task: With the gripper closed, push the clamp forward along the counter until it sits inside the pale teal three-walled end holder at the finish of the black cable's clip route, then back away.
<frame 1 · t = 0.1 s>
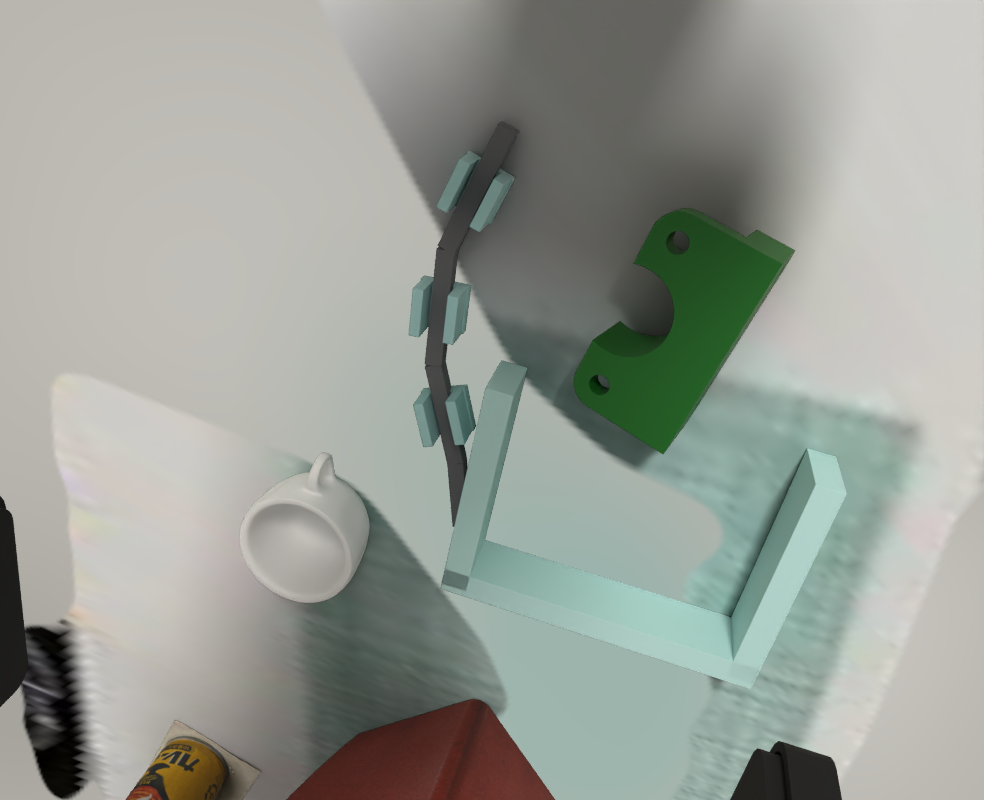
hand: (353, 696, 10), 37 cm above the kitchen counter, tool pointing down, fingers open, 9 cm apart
teacup: (333, 492, 55), on the kitchen counter
condiment: (206, 764, 71), on the kitchen counter
clip 1: (480, 187, 44), on the kitchen counter
clip 2: (445, 303, 47), on the kitchen counter
clamp: (680, 304, 45), on the kitchen counter
plant pot: (457, 769, 64), on the kitchen counter
end holder: (630, 505, 50), on the kitchen counter
clip 3: (449, 407, 50), on the kitchen counter
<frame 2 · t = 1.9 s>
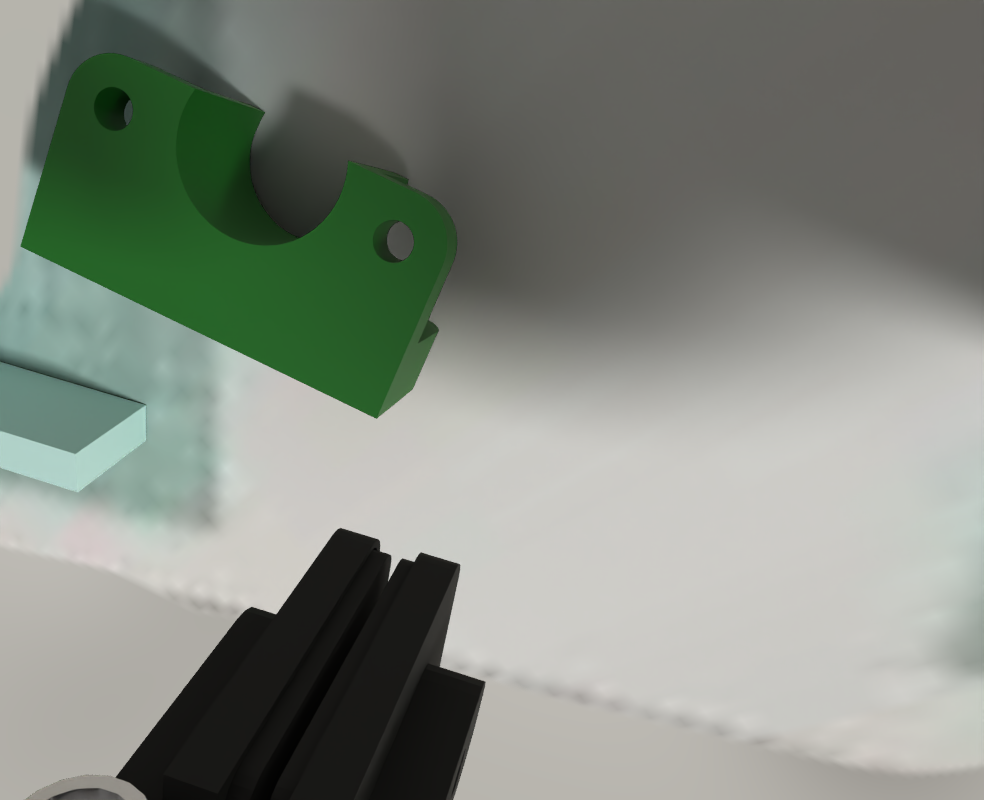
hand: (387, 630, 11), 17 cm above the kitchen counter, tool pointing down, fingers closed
clamp: (312, 212, 27), on the kitchen counter
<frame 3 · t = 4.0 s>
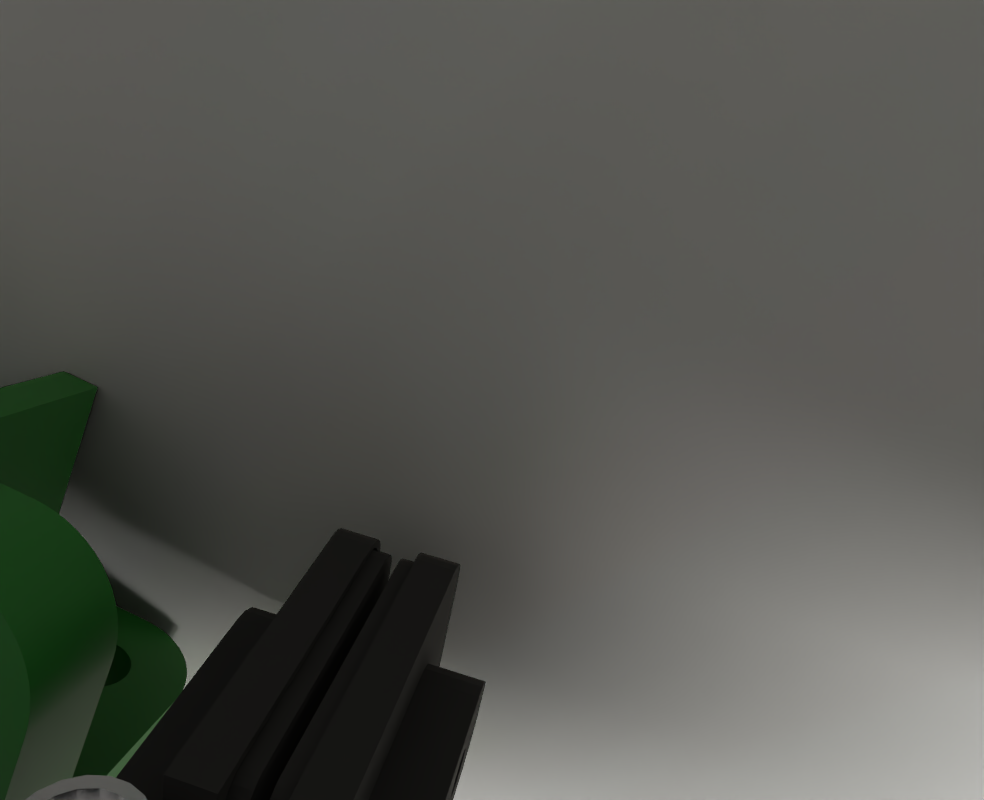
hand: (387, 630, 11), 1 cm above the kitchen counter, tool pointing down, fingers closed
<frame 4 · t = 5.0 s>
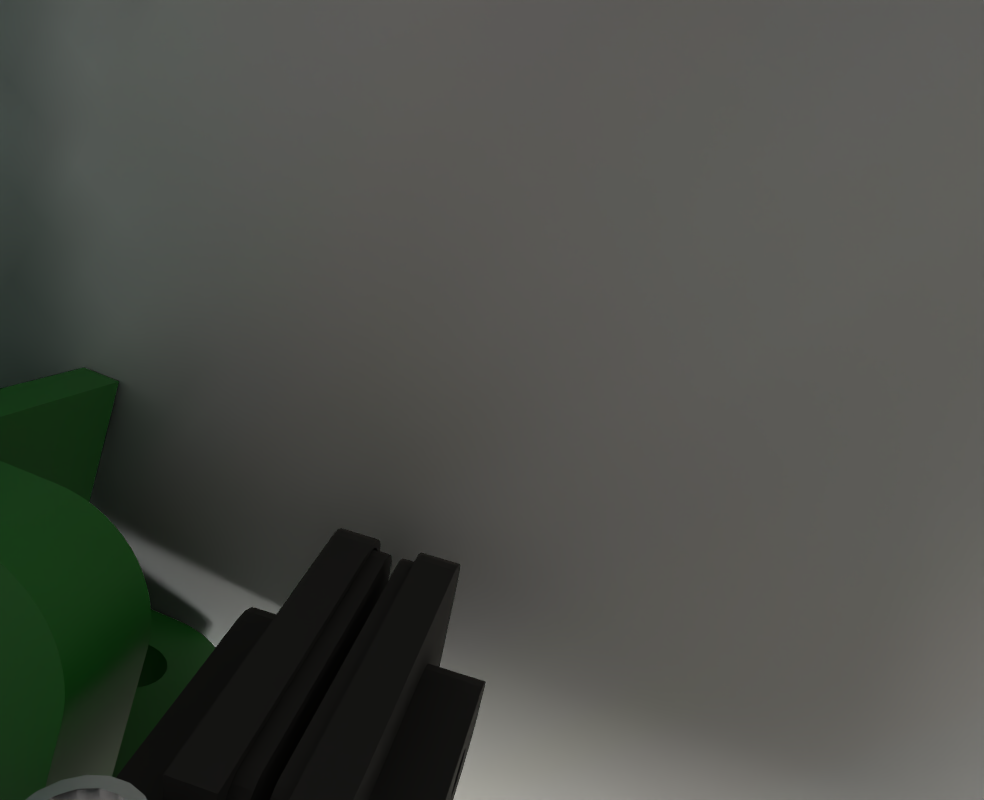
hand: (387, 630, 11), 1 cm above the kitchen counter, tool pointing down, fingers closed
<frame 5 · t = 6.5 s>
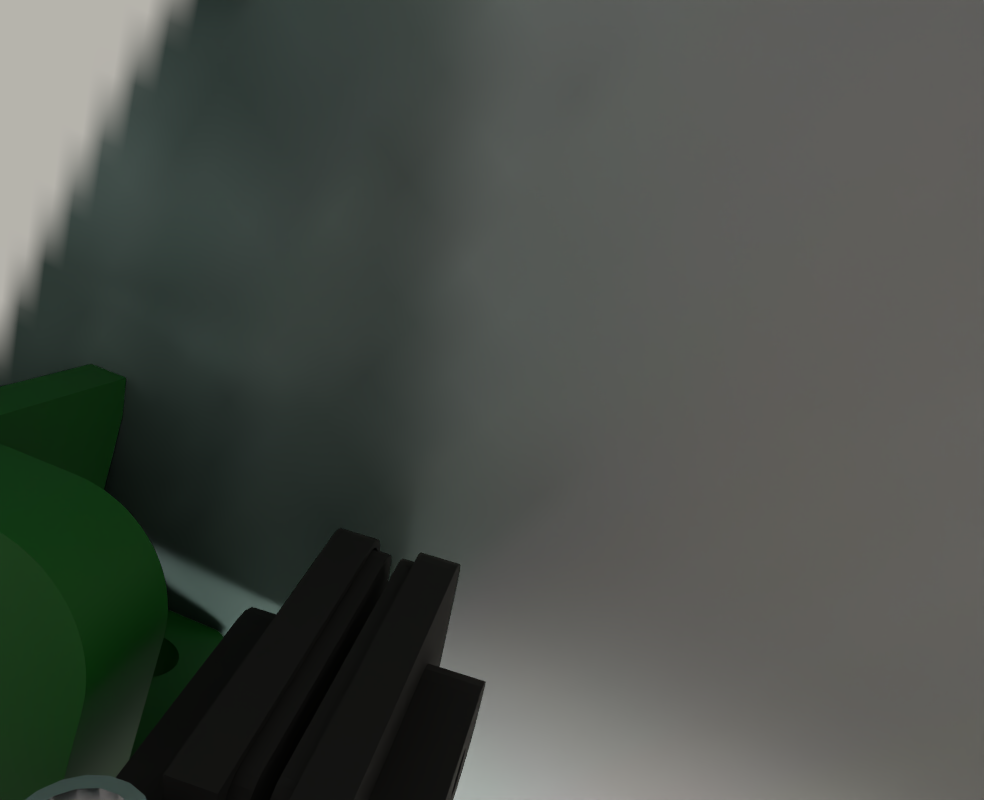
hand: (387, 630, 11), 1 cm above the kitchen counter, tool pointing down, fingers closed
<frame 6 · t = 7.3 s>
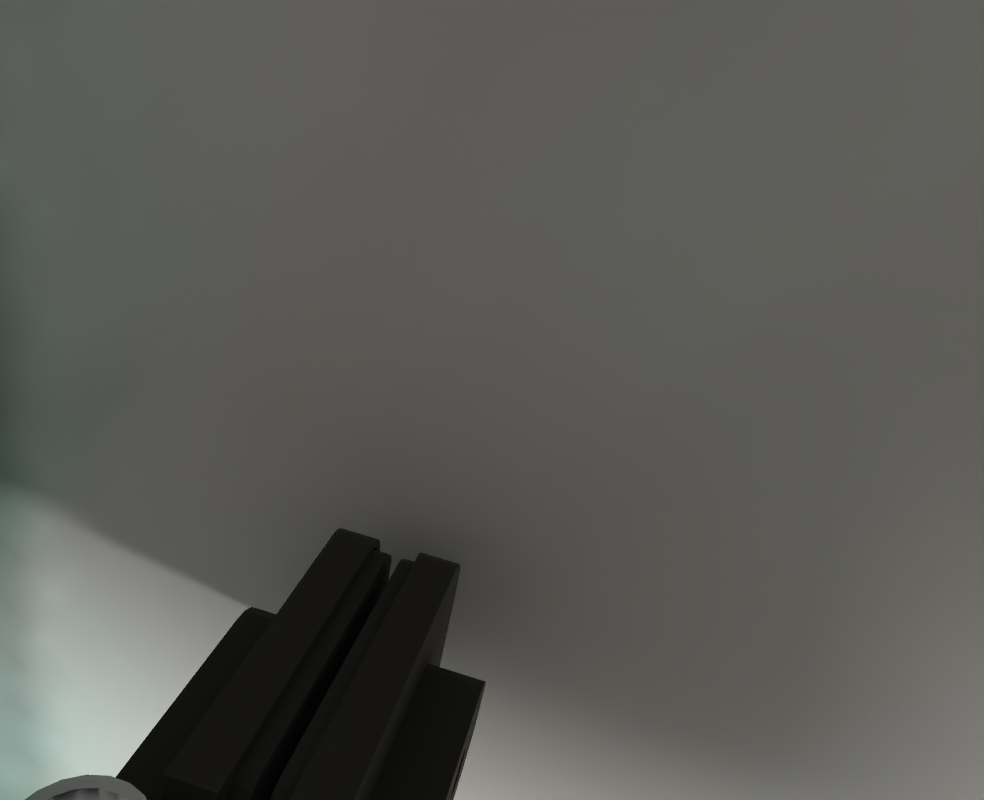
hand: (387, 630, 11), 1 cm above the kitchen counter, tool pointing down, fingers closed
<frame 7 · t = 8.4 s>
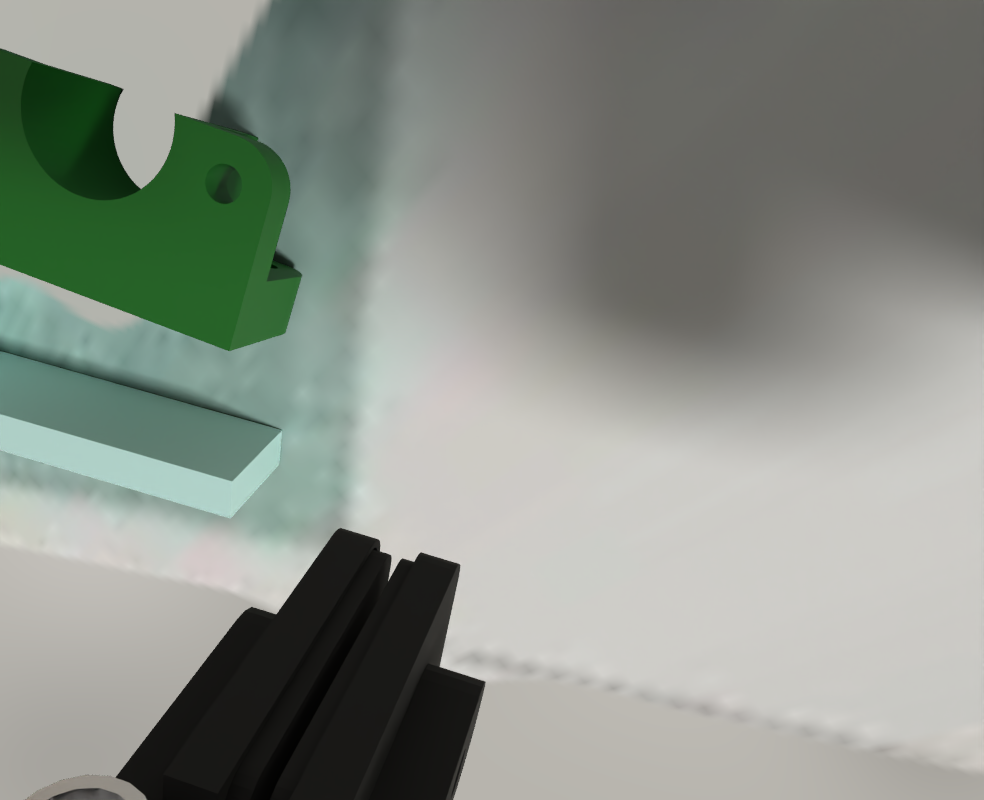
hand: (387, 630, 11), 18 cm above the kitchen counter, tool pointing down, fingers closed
clamp: (178, 179, 29), on the kitchen counter
end holder: (114, 182, 29), on the kitchen counter
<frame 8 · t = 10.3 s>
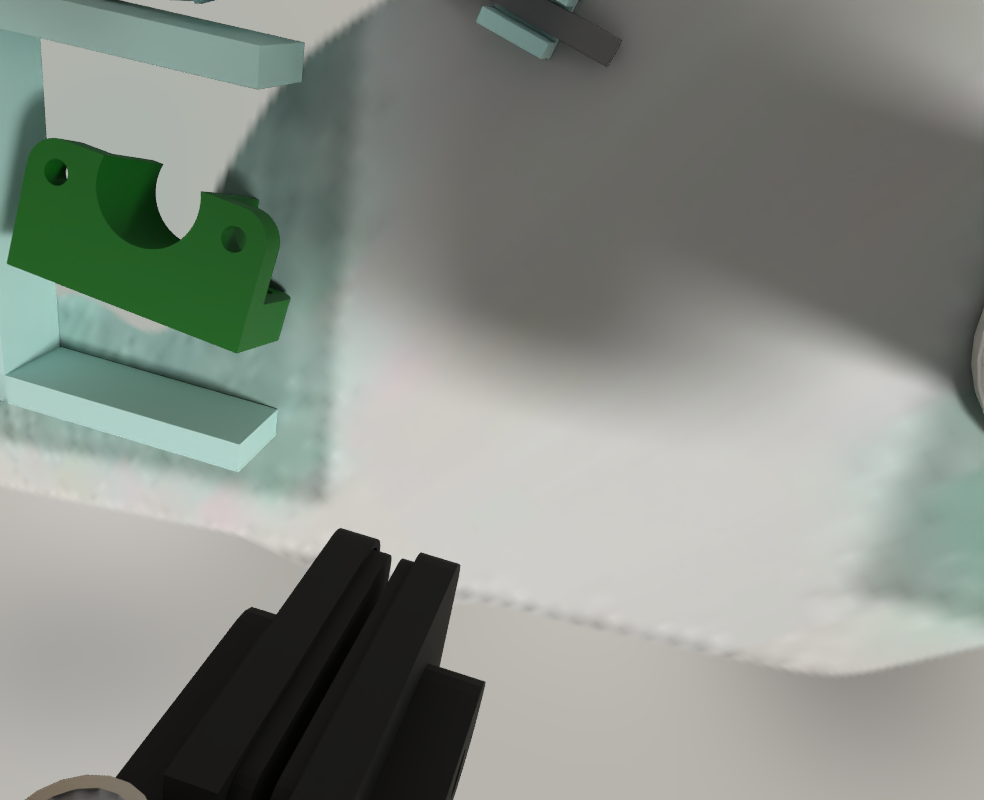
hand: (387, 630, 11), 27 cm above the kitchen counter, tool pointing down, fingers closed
clip 1: (535, 6, 32), on the kitchen counter
clamp: (202, 227, 40), on the kitchen counter
end holder: (155, 226, 40), on the kitchen counter
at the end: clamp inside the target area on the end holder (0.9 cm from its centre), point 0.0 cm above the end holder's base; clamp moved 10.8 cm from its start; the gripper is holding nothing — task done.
